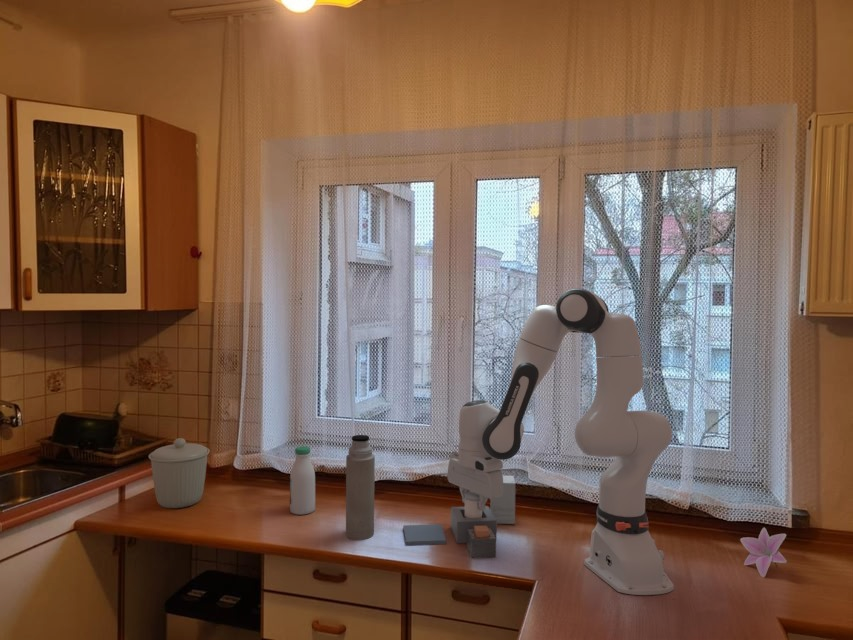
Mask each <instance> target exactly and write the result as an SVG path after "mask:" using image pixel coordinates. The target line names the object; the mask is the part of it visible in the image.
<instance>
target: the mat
mask: <svg viewBox="0 0 853 640" xmlns="http://www.w3.org/2000/svg"><path fill="white" fill-rule="evenodd" d="M402 527H403V528H402V529H403V535H404V540H405V546H420V545H421V546H423V545H425V546H427V545H446V544H447V539H446V536H445V532H444V529H443V527H442V524H441V523H439V524H437V523H434V524H409V525H407V524H406V525H404V524H403V526H402Z"/></svg>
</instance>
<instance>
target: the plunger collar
mask: <svg viewBox="0 0 853 640" xmlns="http://www.w3.org/2000/svg"><path fill="white" fill-rule="evenodd" d="M466 545H467V546H466V548H467V550H468V553H469V556H470V558H471V559H488V558H489V559H490V558H491V559H493V558H497V536H496V537H495V535H494V533H493V532H492V530H491V529H489V537H475V535H474V529H467V543H466Z"/></svg>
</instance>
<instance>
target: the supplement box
mask: <svg viewBox="0 0 853 640" xmlns="http://www.w3.org/2000/svg"><path fill="white" fill-rule="evenodd" d="M489 500H490V506H489V508H490V510H491V512H492V513H493V515H494V517H495V518H496V520H497V524H499V525H501V524H502V525H503V524H504V525H516V481H515V478H514V475H503V495H502V497H501V498H499V499H495V500H491V499H489Z"/></svg>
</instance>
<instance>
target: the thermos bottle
mask: <svg viewBox="0 0 853 640" xmlns="http://www.w3.org/2000/svg"><path fill="white" fill-rule="evenodd" d="M351 440H352V441H351V446H350V447H348V454H347V455H346V457H345V459H346V461H345V462H346V464H345V465H346V466H345V469H346V470H345V486H346V487H345V536H346V537H347V538H349V539H350V540H356V541H357V540H359V541H361V540H362V541H363V540H368V539H369V538H372V537H373V536H374V535H375V469H376V468H375V467H376V466H375V464H376V463H375V460H376V459H375V457H376V456H375V454H373V452H374V451H373V447H372V446H371V445H370V436H369V435H367V434H356V435H353V436H351Z"/></svg>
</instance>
